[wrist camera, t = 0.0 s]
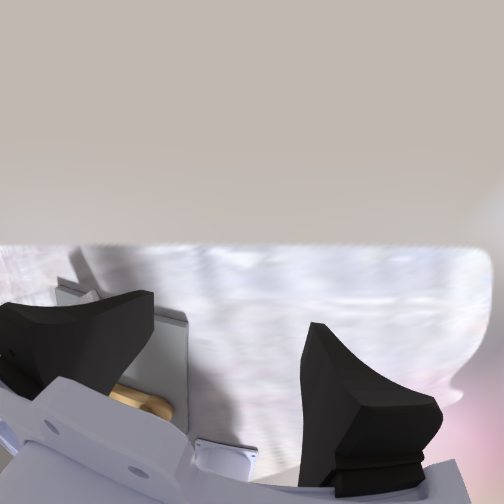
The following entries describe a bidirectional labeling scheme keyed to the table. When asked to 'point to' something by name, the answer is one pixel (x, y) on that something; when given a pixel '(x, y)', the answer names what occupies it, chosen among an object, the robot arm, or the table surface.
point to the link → (143, 401)
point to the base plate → (155, 362)
